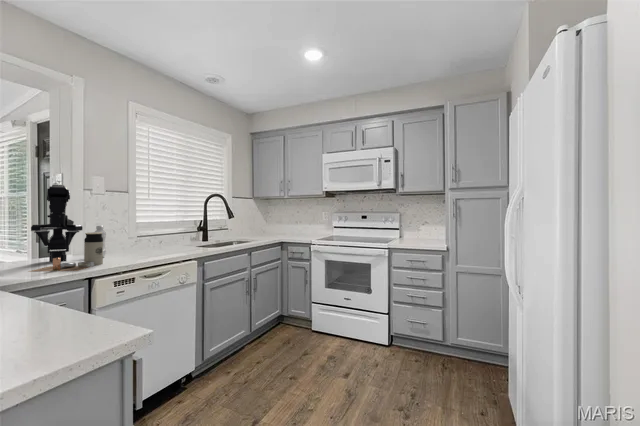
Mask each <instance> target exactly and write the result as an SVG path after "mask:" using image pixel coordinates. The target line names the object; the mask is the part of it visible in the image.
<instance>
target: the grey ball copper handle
mask: <svg viewBox="0 0 640 426" xmlns="http://www.w3.org/2000/svg"><path fill="white" fill-rule="evenodd" d="M52 266H53V270H61V269H64V268H70V267H76V266H77V263H76V262H71V261H70V262H63V263H62V262H61V258H53V262H52Z"/></svg>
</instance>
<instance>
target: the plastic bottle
mask: <svg viewBox="0 0 640 426" xmlns="http://www.w3.org/2000/svg"><path fill="white" fill-rule="evenodd" d="M94 232H102V238H103V258H104V257H106V254H107V251H106V250H107V249H106V244H105V243H106V236H107V234H106V232H105V230H104V225H96V228H95V231H94Z"/></svg>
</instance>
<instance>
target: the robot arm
mask: <svg viewBox="0 0 640 426" xmlns="http://www.w3.org/2000/svg"><path fill="white" fill-rule="evenodd" d="M48 187H49V188H46V191H47V192H46V201H47V202H49V204H48V208H49V214H47V218H49V222H48V223H47V224H32V225H31V226H30V231H31V232H33V233H34V234H36V235H37V236H38V237H39V239H40V241H41V242H42V244H43V245H44V247H47V254H49V255H48V256H49V259H48V262H49V263H53V258H61V263H62V262H63V263H64V262H67V254H66V253H68V252H70V245H71V243H72V240H73V238H74V237H75V235H76V234H77V233H80V231H83V225H82V224H74V223H75V221H73V220H71V219H70V218H68V217H69V216H68V215H67V214H66V209H67V205H68V204H67V203H68V202H69V201H70V199H71V191H70V190H69V189H67V187H66V186H65V184H52V185H51V186H50V185H49V186H48ZM50 230H52V232H53V233H52V235H50V237H49V233H50ZM64 230H66V231H65V232H64V233H63V231H64ZM64 234H65V235H64Z"/></svg>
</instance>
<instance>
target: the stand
mask: <svg viewBox="0 0 640 426" xmlns="http://www.w3.org/2000/svg"><path fill="white" fill-rule="evenodd" d="M92 267H95V265H94V262H84V261H79V262H77V265H76V267H70V268H64V269H61V270H53V265H51V266H44V267H41V268H36V269H33V270H29V271H27V273H28V272H30V273H31V272H39V273H41V272H43V273H44V272H79V271H82V270H86V269H89V268H92Z"/></svg>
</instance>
